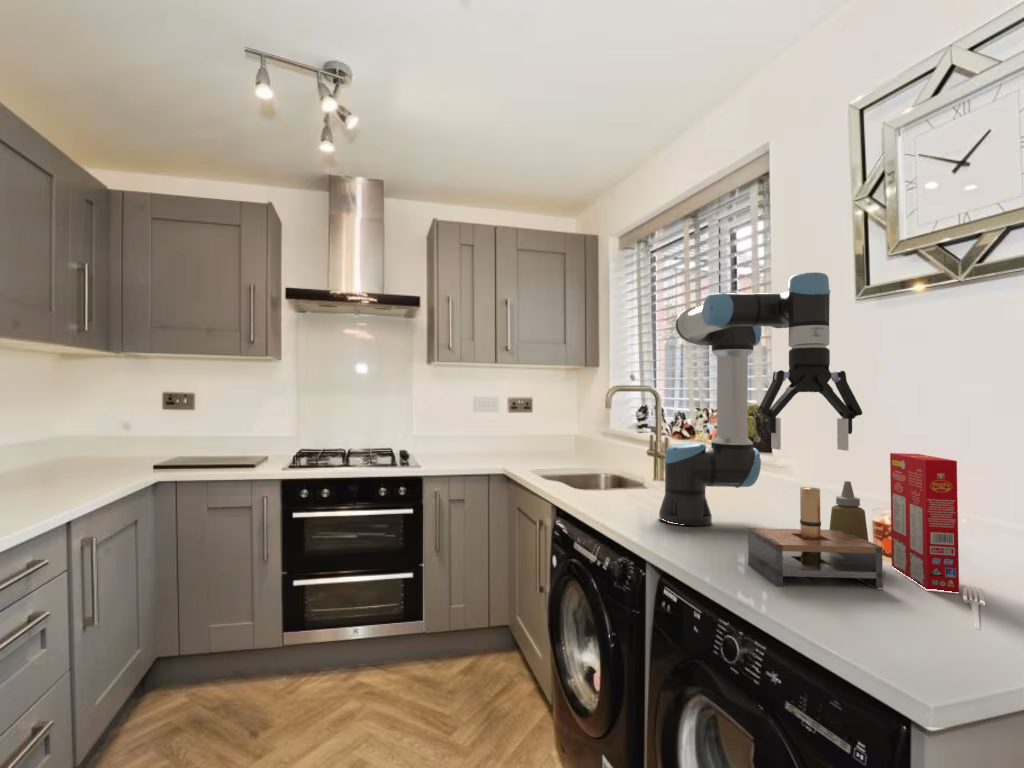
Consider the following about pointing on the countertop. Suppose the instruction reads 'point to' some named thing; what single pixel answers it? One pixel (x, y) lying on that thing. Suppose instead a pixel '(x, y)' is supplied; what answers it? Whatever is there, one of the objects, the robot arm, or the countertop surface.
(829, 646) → the countertop surface
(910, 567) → the food packaging
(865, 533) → the squeeze bottle
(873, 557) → the frame
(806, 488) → the wooden peg
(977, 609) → the fork
